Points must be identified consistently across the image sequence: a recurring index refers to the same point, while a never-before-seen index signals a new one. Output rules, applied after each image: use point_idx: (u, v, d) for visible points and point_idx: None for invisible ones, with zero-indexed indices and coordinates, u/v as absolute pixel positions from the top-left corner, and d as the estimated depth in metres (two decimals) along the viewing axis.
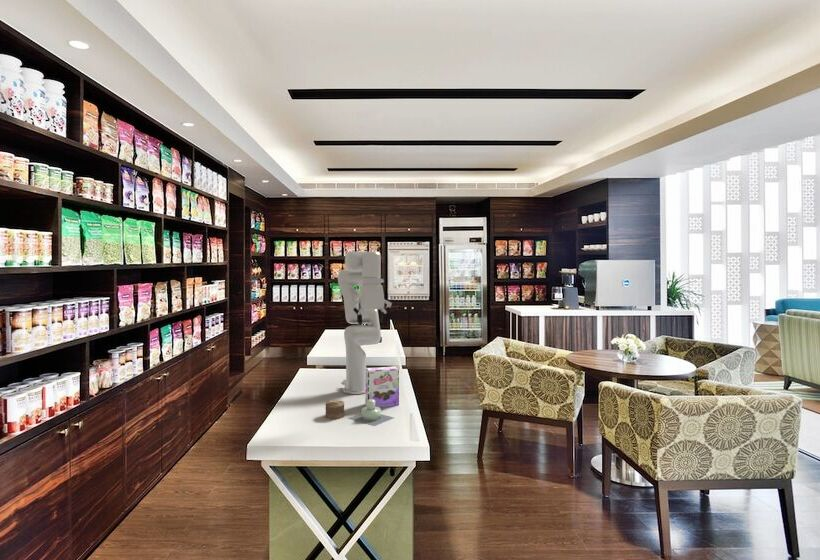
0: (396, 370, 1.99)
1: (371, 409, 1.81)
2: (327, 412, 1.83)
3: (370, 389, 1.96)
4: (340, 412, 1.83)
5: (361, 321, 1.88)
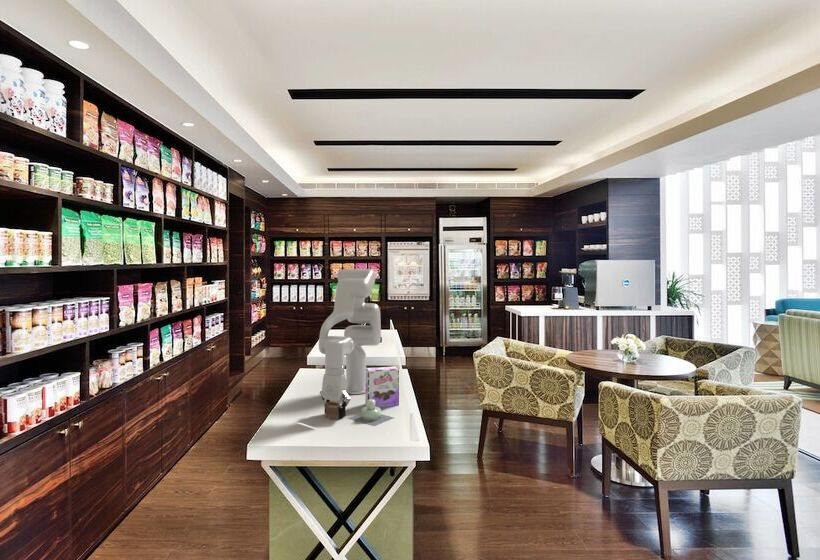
0: (396, 370, 1.99)
1: (371, 409, 1.81)
2: (327, 412, 1.83)
3: (370, 389, 1.96)
4: None
5: None
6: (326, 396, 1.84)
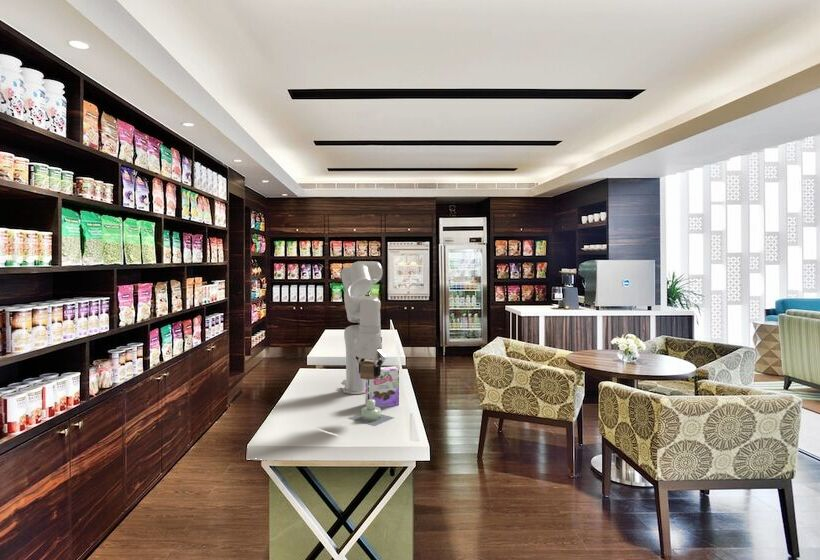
0: (396, 370, 1.99)
1: (371, 409, 1.81)
2: (362, 371, 1.80)
3: (370, 389, 1.96)
4: None
5: None
6: (361, 355, 1.81)
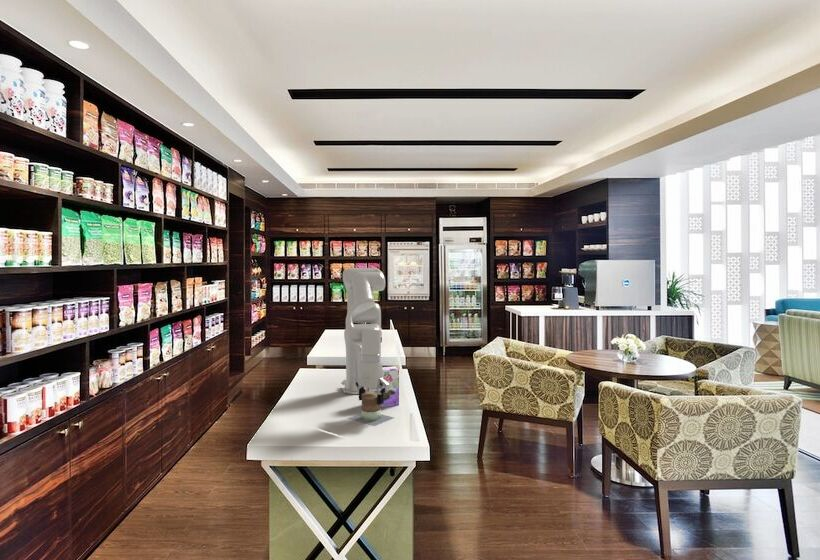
0: (396, 370, 1.99)
1: None
2: (364, 404, 1.80)
3: (370, 389, 1.96)
4: None
5: None
6: (362, 384, 1.81)
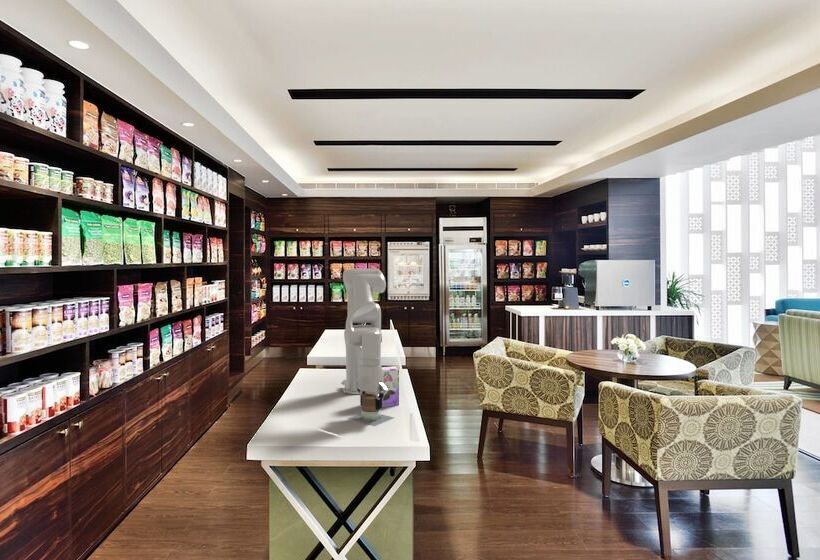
0: (396, 370, 1.99)
1: None
2: (364, 404, 1.80)
3: None
4: None
5: None
6: (362, 387, 1.81)
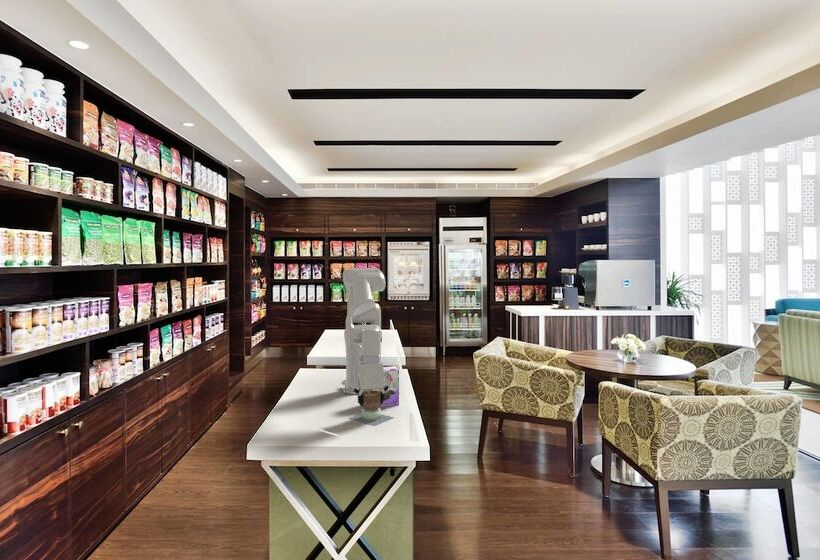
0: (396, 370, 1.99)
1: (371, 409, 1.81)
2: (379, 400, 1.81)
3: None
4: None
5: None
6: (368, 386, 1.79)
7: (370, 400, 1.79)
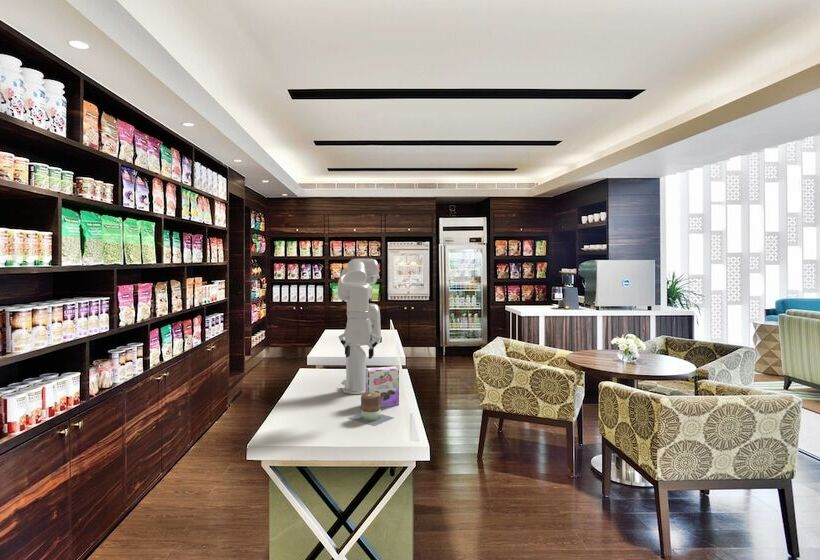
0: (396, 370, 1.99)
1: None
2: (379, 403, 1.81)
3: (370, 389, 1.96)
4: None
5: None
6: (352, 340, 1.85)
7: (370, 403, 1.79)
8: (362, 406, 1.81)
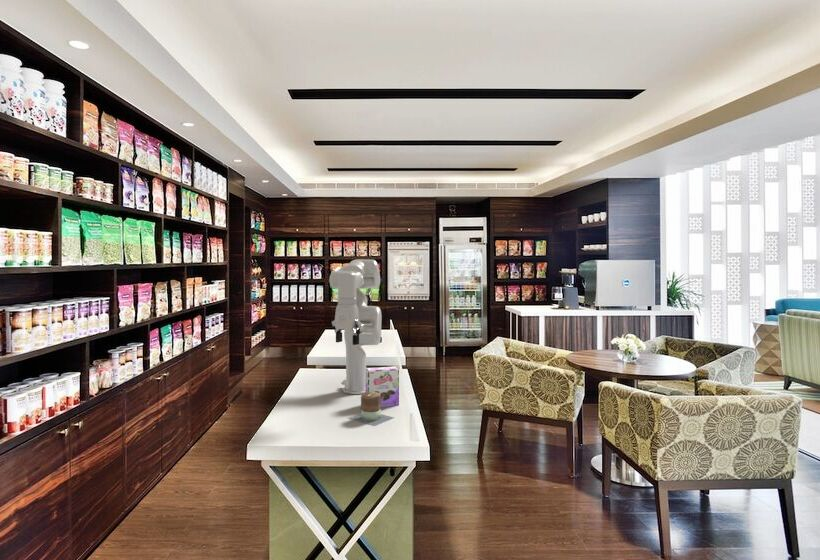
0: (396, 370, 1.99)
1: None
2: (379, 403, 1.81)
3: (370, 389, 1.96)
4: None
5: None
6: (339, 326, 1.91)
7: (370, 403, 1.79)
8: (362, 406, 1.81)
